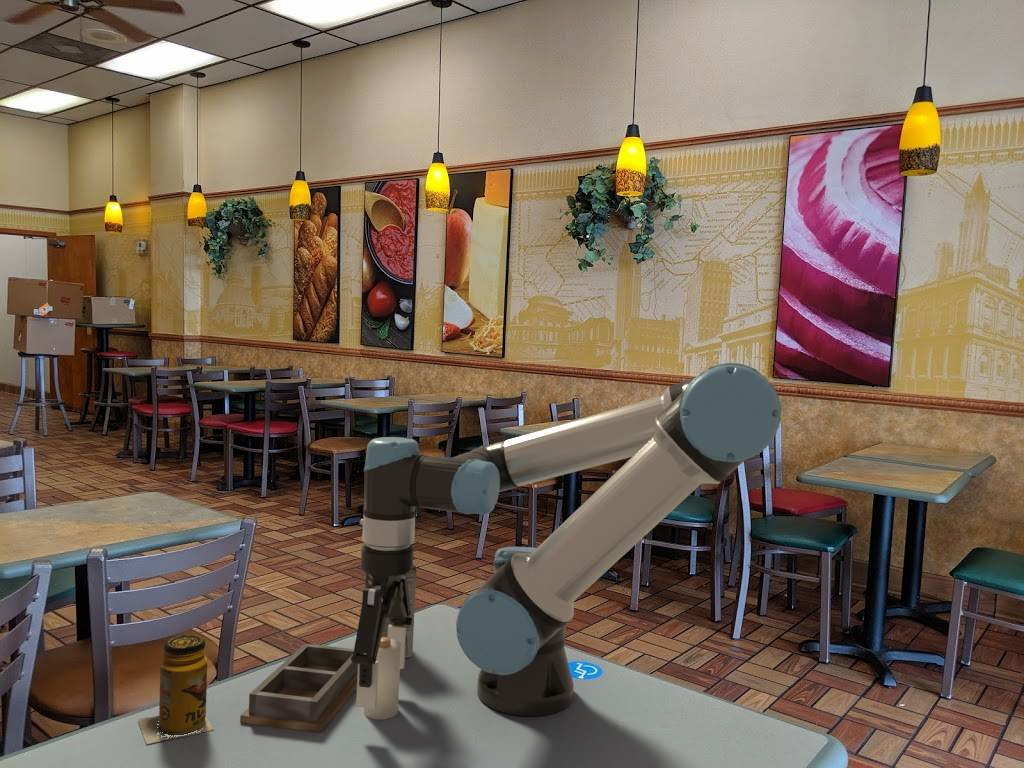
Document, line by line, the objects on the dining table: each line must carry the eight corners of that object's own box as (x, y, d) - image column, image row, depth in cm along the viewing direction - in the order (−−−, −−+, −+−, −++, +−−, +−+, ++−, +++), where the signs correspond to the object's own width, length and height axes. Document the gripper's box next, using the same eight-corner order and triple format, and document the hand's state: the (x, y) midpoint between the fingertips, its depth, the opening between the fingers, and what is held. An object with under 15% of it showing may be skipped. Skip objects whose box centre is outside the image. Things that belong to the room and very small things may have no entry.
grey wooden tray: (368, 673, 129) (369, 649, 128) (321, 732, 109) (322, 704, 109) (299, 665, 130) (300, 641, 130) (240, 722, 111) (241, 694, 110)
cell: (402, 705, 118) (405, 635, 117) (392, 721, 113) (395, 648, 112) (370, 701, 119) (373, 631, 118) (358, 717, 114) (361, 644, 113)
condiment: (213, 730, 108) (216, 645, 107) (146, 745, 103) (148, 656, 103) (201, 708, 114) (204, 627, 113) (137, 721, 109) (139, 637, 109)
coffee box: (361, 643, 141) (365, 554, 140) (395, 638, 144) (399, 551, 143) (378, 662, 133) (381, 569, 132) (413, 657, 136) (417, 565, 135)
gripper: (389, 522, 127) (383, 650, 128) (331, 564, 103) (324, 722, 104) (434, 526, 126) (428, 655, 127) (386, 570, 102) (379, 729, 103)
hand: (381, 686), depth 116 cm, fingers open, 13 cm apart
